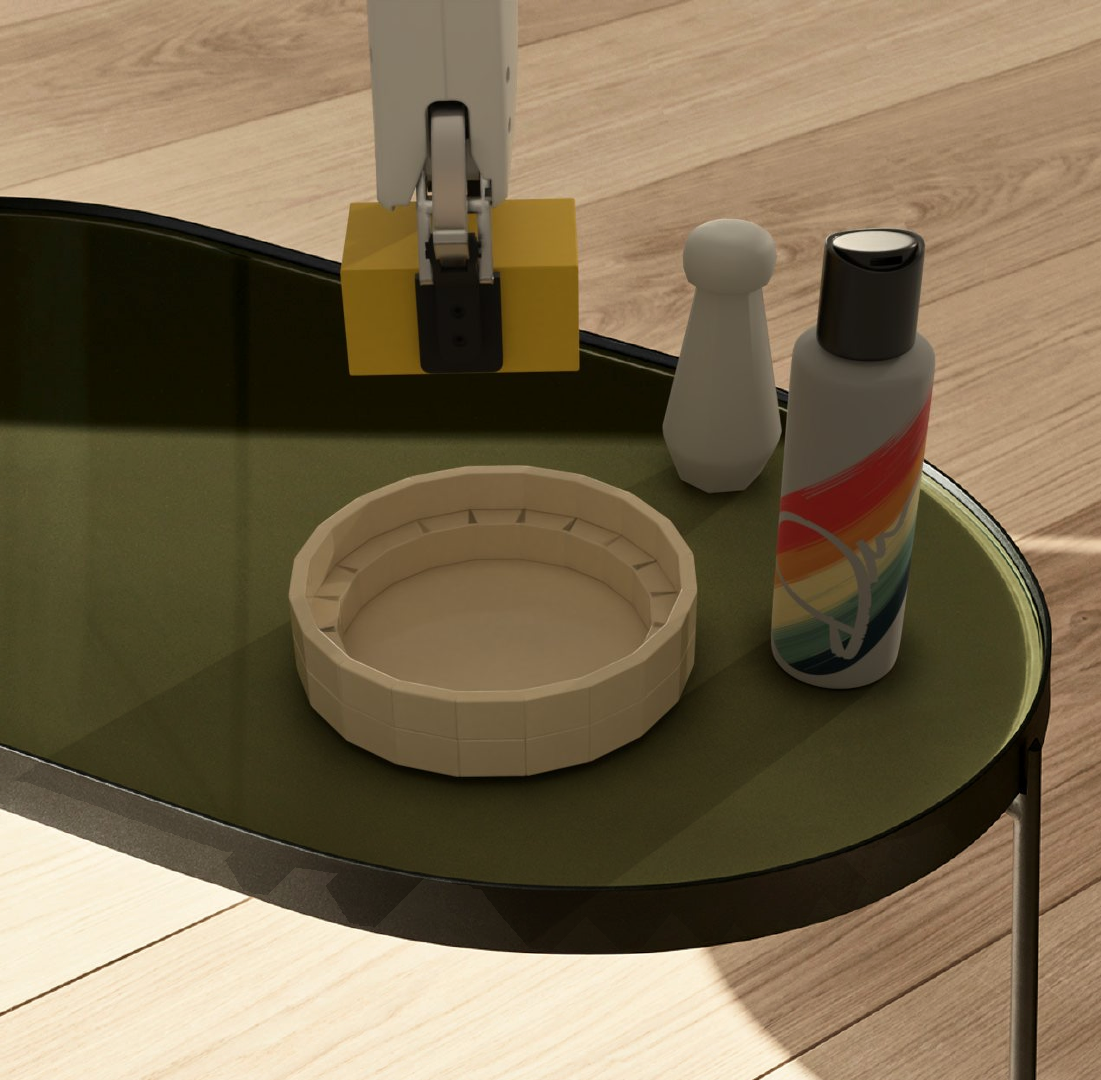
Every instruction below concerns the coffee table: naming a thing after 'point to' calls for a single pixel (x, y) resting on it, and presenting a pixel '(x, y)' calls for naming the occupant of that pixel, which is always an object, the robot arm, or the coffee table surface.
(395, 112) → the robot arm
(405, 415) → the coffee table surface
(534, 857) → the coffee table surface
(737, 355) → the salt shaker
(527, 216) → the sponge
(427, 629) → the bowl
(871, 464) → the striped bottle
